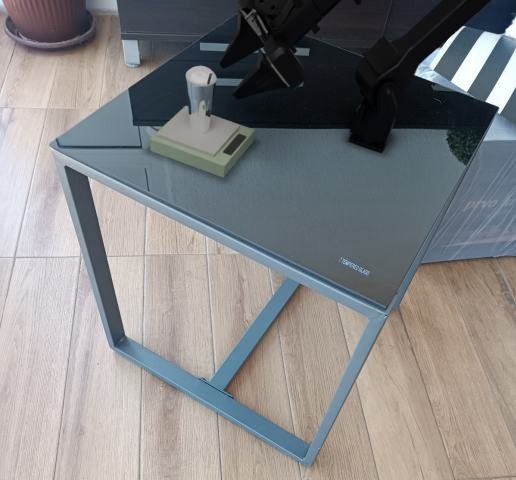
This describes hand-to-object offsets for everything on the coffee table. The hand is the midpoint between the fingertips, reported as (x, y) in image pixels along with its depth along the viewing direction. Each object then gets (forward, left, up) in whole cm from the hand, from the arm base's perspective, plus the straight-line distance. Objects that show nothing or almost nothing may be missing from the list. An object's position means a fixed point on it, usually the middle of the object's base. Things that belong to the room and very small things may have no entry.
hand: (227, 81), depth 75 cm
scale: (+2, +2, -10) cm, 11 cm away
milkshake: (+3, +2, -8) cm, 9 cm away
